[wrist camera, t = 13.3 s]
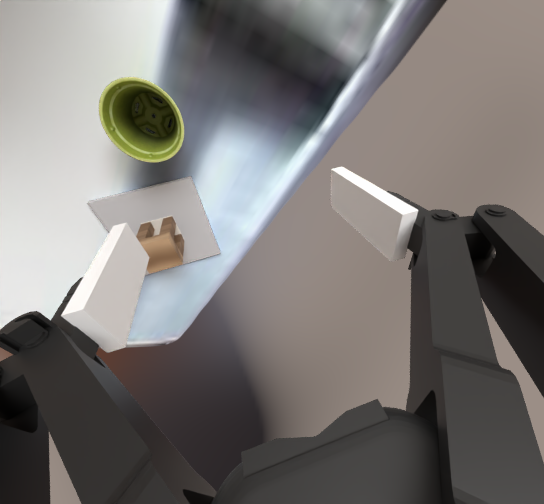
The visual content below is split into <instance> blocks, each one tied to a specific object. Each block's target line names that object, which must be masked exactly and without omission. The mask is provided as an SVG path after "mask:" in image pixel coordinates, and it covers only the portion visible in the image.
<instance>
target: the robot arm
mask: <svg viewBox="0 0 544 504" xmlns="http://www.w3.org/2000/svg"><path fill="white" fill-rule="evenodd" d="M331 207H332V208H333V209H334V210H335V211H336V212H337V213H338V214H339V215H340V216H342V217H343V218H344V219H345V220H346V221H347V222H348V223H349V224H350V225H351V226H352V227H354V228H355V229H356V230H357V231H358V232H359V233H360V234H361V235H362V236H363V237H364V238H366V239H367V240H368V241H369V242H370V243H371V244H372V245H373V246H374V247H375V248H376V249H378V250H379V251H380V252H381V253H382V254H383V255H384V256H385V257H386V258H387V259H389V260H390V261H391V262H393V261H396V260H399V259H403V258H405V255H406V252H407V248H408V249H410V250H411V251H412V252H413V255H412V258H411V262H410V265H409V268H408V269H409V270H411V337H410V339H411V341H410V345H411V346H410V388H409V394H408V399H407V405H406V411H405V410H401V409H397V408H390V407H382V406H381V404H380V403H379V401H378V399H376V400H374V401H371V402H369V403H366V404H363V405H361V406H358V407H356V408H353V409H351V410H348V411H346V412H345V413H343V414H342V415H341V416H340V417H339V418H338V419H336V420H335V421H334V422H333V423H332V424H331V425H329V426H328V427H327V428H326V429H325V430H324V431H322V432H321V433H320V434H319V435H317V436H315V437H301V438H279V439H274V440H272V441H269V442H267V443H264V444H261V445H259V446H256V447H254V448H251V449H249V450H246V451H243V452H241V455H242V463H241V464H239V465H238V466H237V467H236V468H235V469H234V470H233V471H232V472H231V473H230V475H229V476H228V477H227V478H226V480H225V481H224V483H223V484H222V485H221V487H220V489H219V490H218V492H216V491H215V490H214V489H213V488H212V487H211V485H209V483H208V482H207V481H205V480H204V479H203V478H202V477H201V476H200V475H198V474H197V473H196V472H195V471H194V469H193V468H192V467H191V466H190V465H189V464H188V462H187V461H186V460H185V459H184V458H183V456H182V455H181V454H180V453H179V452H178V450H177V449H176V448H175V447H174V446H173V444H172V443H171V442H170V441H169V440H168V439H167V437H166V436H165V435H164V434H163V432H161V430H160V429H159V428H158V426H157V425H156V424H155V423H154V422H153V420H152V419H151V418H150V417H149V416H148V414H147V413H146V412H145V411H144V410H143V408H142V407H141V406H140V405H139V404H138V402H137V401H136V400H135V399H134V398H133V396H132V395H131V394H130V393H129V392H128V391H127V389H126V388H125V387H124V386H123V385H122V383H121V382H120V381H119V380H118V378H117V377H116V376H115V375H114V374H113V372H112V371H111V370H110V369H109V368H108V367H107V365H106V364H105V363H104V362H103V360H102V359H101V358H99V357H98V356H97V355H96V352H97V350H98V347H99V346H100V347H101V348H102V349H103V350H105V351H106V352H107V353H109V352H112V351H115V350H118V349H121V348H124V347H126V343H127V339H128V336H129V332H130V328H131V324H132V321H133V317H134V313H135V310H136V306H137V302H138V298H139V295H140V291H141V287H142V284H143V280H144V276H145V272H146V269H147V265H148V261H149V256H148V254H147V253H146V251H145V250H144V248H143V247H142V245H141V244H140V242H139V241H138V239H137V238H136V236H135V235H134V233H133V231H132V230H131V228H130V227H129V225H128V224H127V223H123V224H119V225H115V226H113V227H112V229H111V231H110V232H109V234H108V236H107V238H106V239H105V241H104V243H103V244H102V246H101V248H100V250H99V251H98V253H97V255H96V256H95V258H94V260H93V262H92V263H91V265H90V267H89V268H88V270H87V272H86V274H85V275H84V277H82V278H80V279H79V280H78V281H77V282H76V283H75V284H74V285H73V286H72V287H71V289H70V290H69V292H68V293H67V296H66V297H65V298H64V300H63V303H62V304H61V305H60V306H59V308H58V310H57V311H56V313H55V315H54V316H53V318H52V319H51V321H50V320H49V319H48V318H46V317H45V316H44V315H42V314H41V313H39V312H37V311H34V312H29V313H26V314H23V315H21V316H19V317H17V318H15V319H14V320H12V321H11V322H9V323H8V324H7V325H5V326H4V327H3V328H2V329H1V330H0V347H1V348H3V349H4V350H6V351H8V352H10V353H12V354H14V355H12V356H10V357H8V358H6V359H4V360H3V361H1V362H0V504H50V472H49V432H50V434H51V437H52V439H53V441H54V443H55V445H56V448H57V450H58V452H59V454H60V457H61V459H62V461H63V463H64V466H65V468H66V470H67V472H68V474H69V477H70V479H71V481H72V483H73V486H74V488H75V490H76V492H77V495H78V497H79V499H80V501H81V503H82V504H544V463H543V460H542V457H541V453H540V450H539V447H538V444H537V440H536V437H535V434H534V431H533V427H532V424H531V421H530V418H529V414H528V411H527V408H526V404H525V401H524V398H523V394H522V391H521V388H520V385H519V383H518V381H517V379H516V377H515V375H514V374H513V373H512V372H511V371H510V370H506V369H503V368H501V366H500V365H499V363H498V361H497V358H496V354H495V350H494V346H493V342H492V338H491V334H490V330H489V326H488V323H487V319H486V315H485V311H484V307H483V304H482V300H481V298H482V299H483V301H484V303H485V305H486V306H487V308H488V309H489V311H490V313H491V314H492V316H493V317H494V319H495V321H496V322H497V324H498V325H499V327H500V329H501V330H502V332H503V333H504V335H505V337H506V338H507V340H508V341H509V343H510V345H511V346H512V348H513V349H514V351H515V352H516V354H517V356H518V357H519V359H520V361H521V362H522V364H523V365H524V367H525V369H526V370H527V372H528V373H529V375H530V377H531V378H532V380H533V381H534V383H535V385H536V386H537V388H538V389H539V391H540V392H541V394H542V396H543V397H544V236H543V235H542V234H541V233H539V232H538V231H537V230H536V229H535V228H534V227H532V226H531V225H530V224H529V223H528V222H526V221H525V220H524V219H523V218H522V217H520V216H519V215H518V214H517V213H516V212H515V211H513V210H511V209H509V208H506V207H504V206H501V205H499V206H498V205H482V206H479V207H478V208H477V209H476V211H475V213H474V216H467V217H459V216H458V215H457V214H455V213H454V212H450V211H448V210H431V211H428V210H426V209H424V208H422V207H421V206H419V205H417V204H415V203H413V202H410V200H408V199H406V198H404V197H402V196H401V195H399V194H397V193H393V192H389V191H387V192H386V191H384V190H382V189H381V188H379V187H377V186H375V185H374V184H372V183H370V182H368V181H367V180H365V179H363V178H361V177H359V176H358V175H356V174H354V173H352V172H351V171H349V170H347V169H345V168H344V167H338V168H334V169H331ZM495 251H496V255H495V254H494V253H495Z"/></svg>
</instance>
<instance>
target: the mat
mask: <svg viewBox="0 0 544 504" xmlns="http://www.w3.org/2000/svg"><path fill="white" fill-rule="evenodd" d="M87 204H88V205H89V207H90V208H91V209H92V211H93V212H94V213H95V215H96V216H97V217H98V219H99V220H100V221H101V223H102V224H103V226H104V227H105V228H106V230H107V231H108V232H110V231H111V229H112V227H113V226H115V225H119V224H123V223H127V224H128V225H129V227H130V228H131V230H132V231H133V233H134V235H135V236H137V233H138V230H139V228H140V225H141V224H144V223H148V222H151V224H152V225H153V227H154V229H155V231H154V234H153V236H156V235H159V233H160V229H161V225H162V221H163V218H167V217H171V216H173V218H174V220H175V223H176V229H175V235H178V234H181V235H182V237H183V239H184V253H183V264H186V263H189V262H193V261H196V260H200V259H203V258H207V257H210V256H214V255H217V254H220V249H219V247H218V244H217V242H216V239H215V236H214V234H213V231H212V229H211V226H210V224H209V221H208V218H207V216H206V213H205V211H204V208H203V205H202V203H201V200H200V198H199V195H198V193H197V190H196V187H195V185H194V182H193V180H192V177H191V176H189V177H185V178H181V179H177V180H173V181H169V182H165V183H161V184H157V185H152V186H148V187H144V188H140V189H136V190H132V191H128V192H124V193H120V194H116V195H112V196H108V197H104V198H100V199H96V200H91V201H89V202H88V203H87ZM178 266H179V265H178ZM175 267H176V266H175ZM171 268H172V267H171ZM168 269H169V268H168ZM164 270H165V269H164ZM161 271H162V270H161ZM157 272H158V271H157ZM154 273H155V272H154ZM148 274H149V272H148V271H147V269H146V272H145V275H148ZM150 274H151V273H150Z"/></svg>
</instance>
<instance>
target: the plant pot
mask: <svg viewBox="0 0 544 504" xmlns="http://www.w3.org/2000/svg"><path fill="white" fill-rule="evenodd" d="M152 97H156V98H158V99H160V100H161V101H162V103H160V102H159V101H157V100H155V99H153V98H152ZM137 103H139V107H138V112H137V113H136V111H135V109H136V104H137ZM152 114H155V116H156V117H155V118H153V117H152ZM99 115H100V120H101V123H102V126H103V128H104V130H105V132H106V134H107V135H108V137H109V138H110V140H111V141H112V142H113V143H114V144H115V145H116V146H117V147H118V148H119V149H120V150H121V151H123V152H124V153H125V154H127V155H129V156H130V157H133V158H135V159H137V160H140V161H145V162H162V161H165V160H168V159H170V158H171V157H173V156H174V155H175V154H176V153H177V152H178V151H179V149H180V147H181V145H182V143H183V139H184V124H183V120H182V117H181V114H180V111H179V109H178V107H177V106H176V104H175V103H174V101H173V100H172V99H171V97H170V96H169V95H168V94H167V93H166V92H165V91H164V90H162V89H161V88H160V87H158V86H157V85H155V84H153V83H151V82H149V81H147V80H144V79H141V78H135V77H125V78H120V79H117V80H115V81H113V82H111V83H110V84H109V85H108V86H107V87H106V88H105V89H104V91H103V92H102V95H101V97H100V102H99ZM170 119H171V120H172V123H171V127H168V125H169V122H170ZM146 128H148V129H150V130H152V131H155V133H151V132H149V131H147V130H146Z"/></svg>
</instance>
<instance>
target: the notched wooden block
mask: <svg viewBox="0 0 544 504" xmlns="http://www.w3.org/2000/svg"><path fill="white" fill-rule="evenodd" d="M175 229H176V223H175V220H174V218H173V216H171V217H167V218H163V221H162V225H161V229H160V233H159V235H156V236H153V234H154V231H155V229H154V227H153V225H152V224H151V222H148V223H144V224H141V225H140V228H139V230H138V233H137V236H136V238H137V239H138V241H139V242H140V244H141V245H142V247H143V248H144V250H145V251H146V253H147V254H148V256H149V261H148V265H147V271H148V272H149V274H150V273H154V272H157V271H161V270H164V269H168V268H171V267H175V266H178V265H182V264H183V253H184V239H183V237H182V235H181V234H178V235H175Z"/></svg>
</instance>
